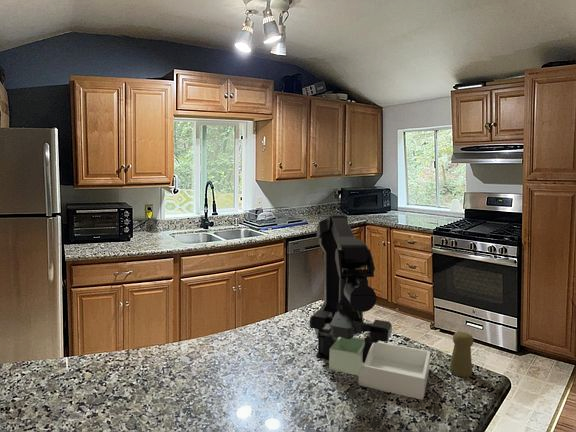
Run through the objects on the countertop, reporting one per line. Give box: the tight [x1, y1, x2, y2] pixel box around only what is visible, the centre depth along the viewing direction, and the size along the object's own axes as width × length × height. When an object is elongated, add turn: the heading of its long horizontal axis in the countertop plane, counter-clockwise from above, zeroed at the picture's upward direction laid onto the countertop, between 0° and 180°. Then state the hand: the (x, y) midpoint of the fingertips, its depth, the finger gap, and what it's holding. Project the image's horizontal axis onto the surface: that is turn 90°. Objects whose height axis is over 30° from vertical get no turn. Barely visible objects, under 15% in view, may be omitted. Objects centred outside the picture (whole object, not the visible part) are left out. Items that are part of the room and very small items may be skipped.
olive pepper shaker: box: [448, 331, 474, 378], centre depth 115 cm, size 6×6×11 cm
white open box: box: [357, 341, 431, 401], centre depth 112 cm, size 16×16×6 cm
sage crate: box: [328, 336, 367, 377], centre depth 101 cm, size 7×9×5 cm
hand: (348, 358), depth 101 cm, fingers closed on sage crate, 7 cm apart
